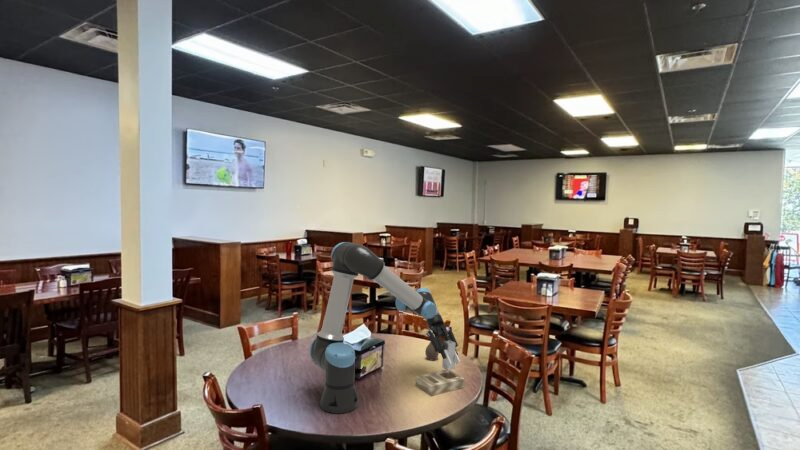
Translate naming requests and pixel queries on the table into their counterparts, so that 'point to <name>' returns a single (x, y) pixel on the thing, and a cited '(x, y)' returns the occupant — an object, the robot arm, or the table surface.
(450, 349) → the grey rectangular block
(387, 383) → the table surface
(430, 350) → the dark grey egg
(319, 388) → the table surface
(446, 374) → the holder
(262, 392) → the table surface
